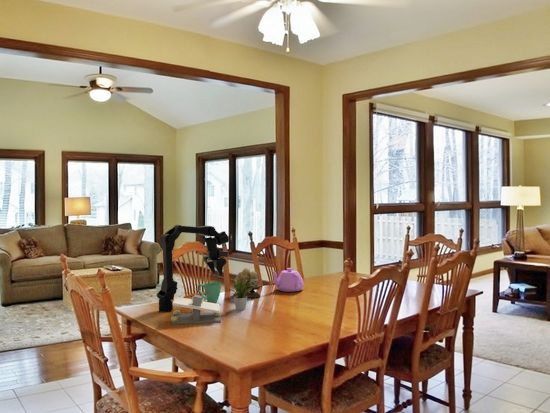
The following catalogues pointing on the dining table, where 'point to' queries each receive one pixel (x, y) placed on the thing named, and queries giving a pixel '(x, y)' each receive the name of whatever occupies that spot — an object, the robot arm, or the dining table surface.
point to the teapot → (288, 280)
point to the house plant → (240, 294)
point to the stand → (195, 317)
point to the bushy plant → (250, 277)
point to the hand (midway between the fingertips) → (217, 274)
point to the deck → (189, 304)
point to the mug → (210, 291)
